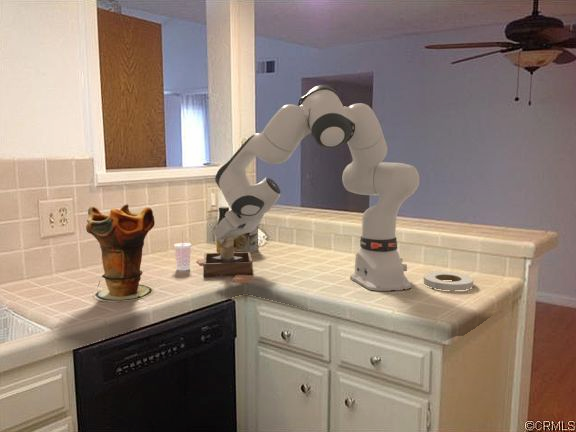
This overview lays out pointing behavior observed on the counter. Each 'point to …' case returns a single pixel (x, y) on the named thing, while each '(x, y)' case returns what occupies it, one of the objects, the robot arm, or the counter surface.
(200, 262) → the tile
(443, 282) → the roll of tape
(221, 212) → the sauce bottle
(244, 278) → the tile
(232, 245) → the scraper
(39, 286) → the counter surface
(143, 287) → the decorative vase
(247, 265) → the box
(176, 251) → the beverage cup
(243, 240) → the coffee box
